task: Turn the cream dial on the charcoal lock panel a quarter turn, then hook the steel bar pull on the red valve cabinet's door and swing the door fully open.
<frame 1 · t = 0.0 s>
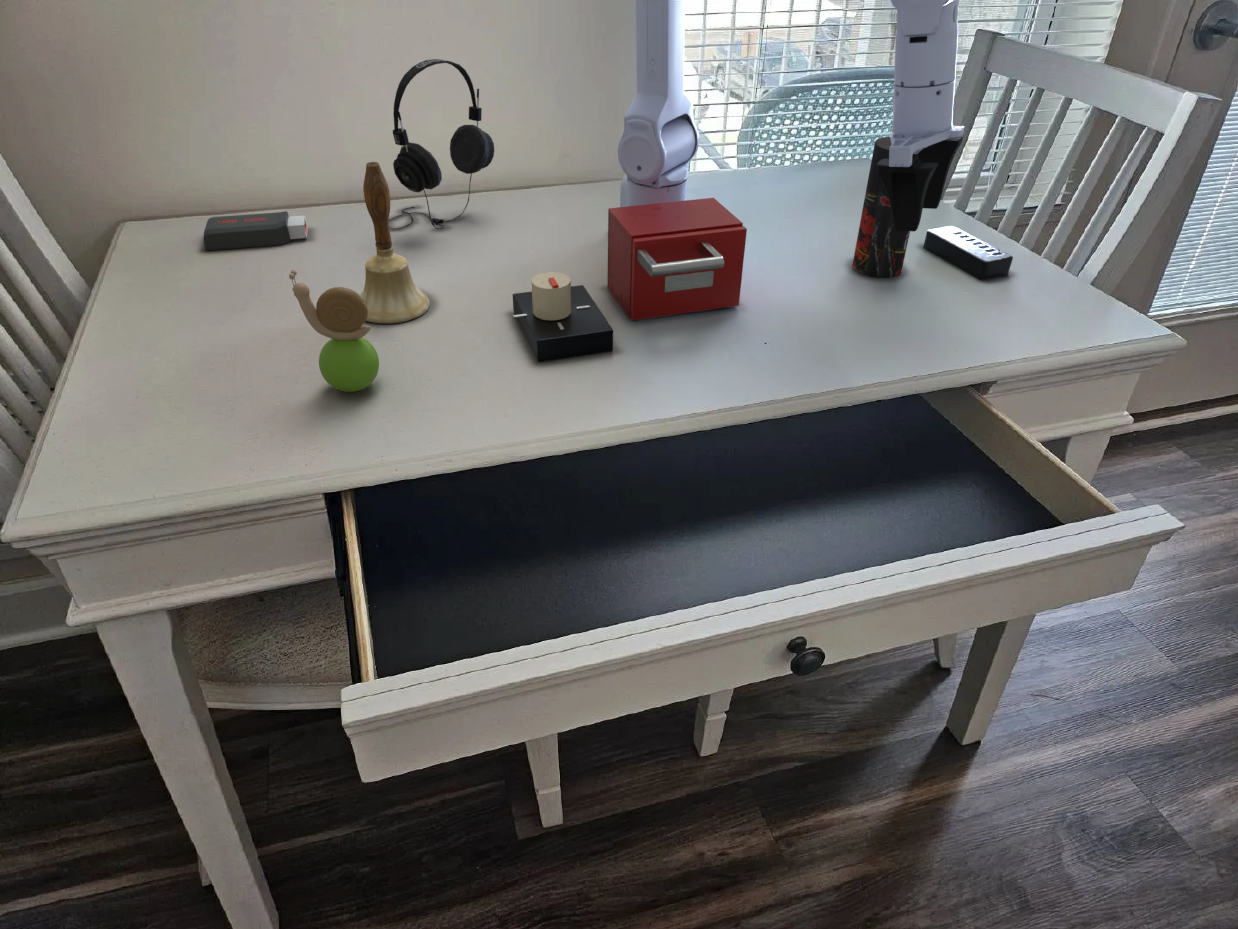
hand: (917, 218, 95), 11 cm above the table, tool pointing down, fingers open, 7 cm apart
lock dial: (551, 294, 92), point 5 cm above the table, hinge at 0.0°
hand bell: (392, 308, 99), on the table
valve cabinet: (670, 296, 102), on the table
valve door: (696, 282, 94), point 5 cm above the table, hinge at 0.0°
lock panel: (561, 332, 95), on the table
usb drive: (258, 240, 114), on the table
multiport hub: (964, 261, 112), on the table
snail figurine: (348, 389, 85), on the table
headphones: (438, 219, 120), on the table
deodorant: (876, 269, 110), on the table
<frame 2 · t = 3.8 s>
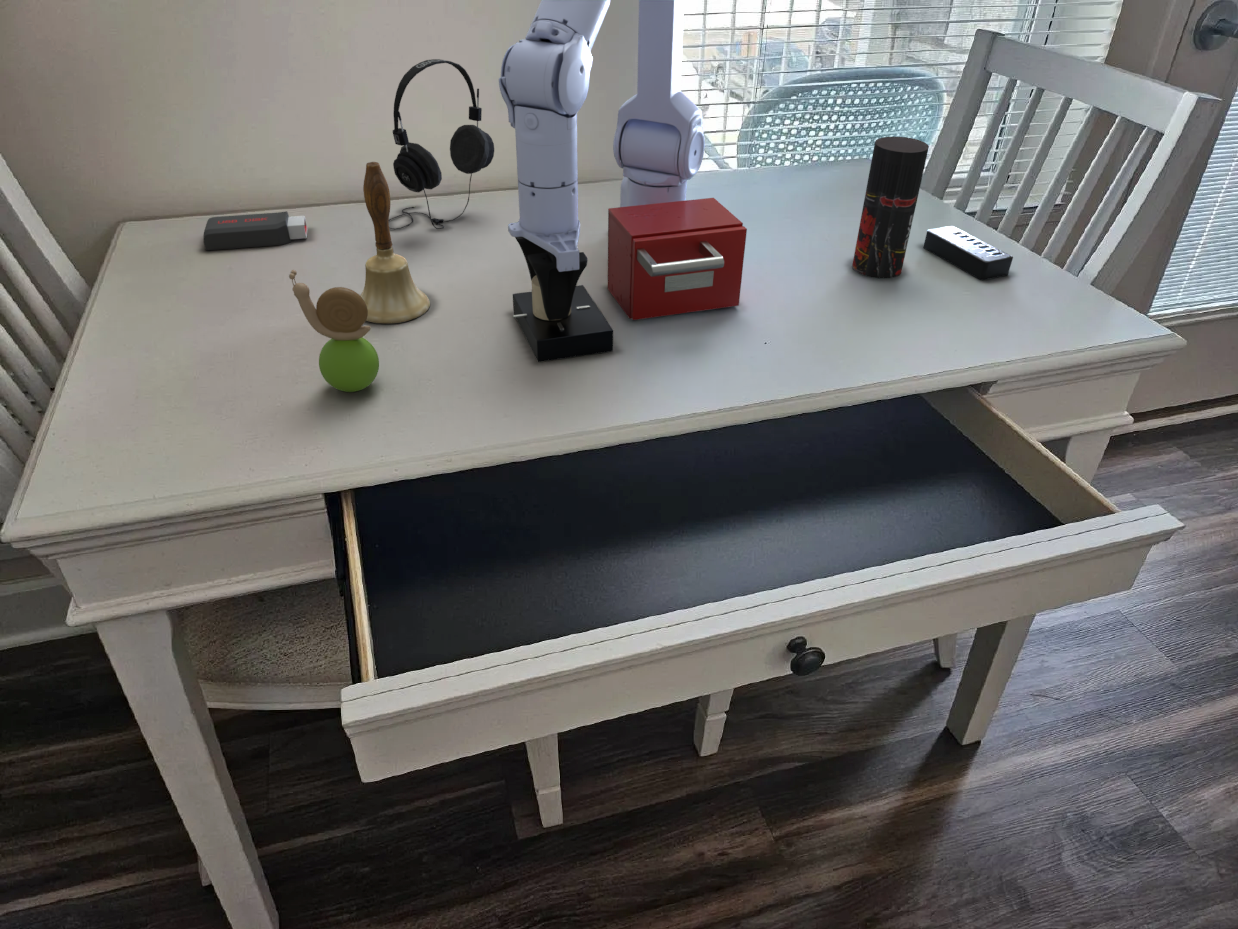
hand: (551, 307, 93), 3 cm above the table, tool pointing down, fingers closed on lock dial, 4 cm apart
lock dial: (551, 294, 92), point 4 cm above the table, hinge at -0.2°, touching gripper
everything else where it was.
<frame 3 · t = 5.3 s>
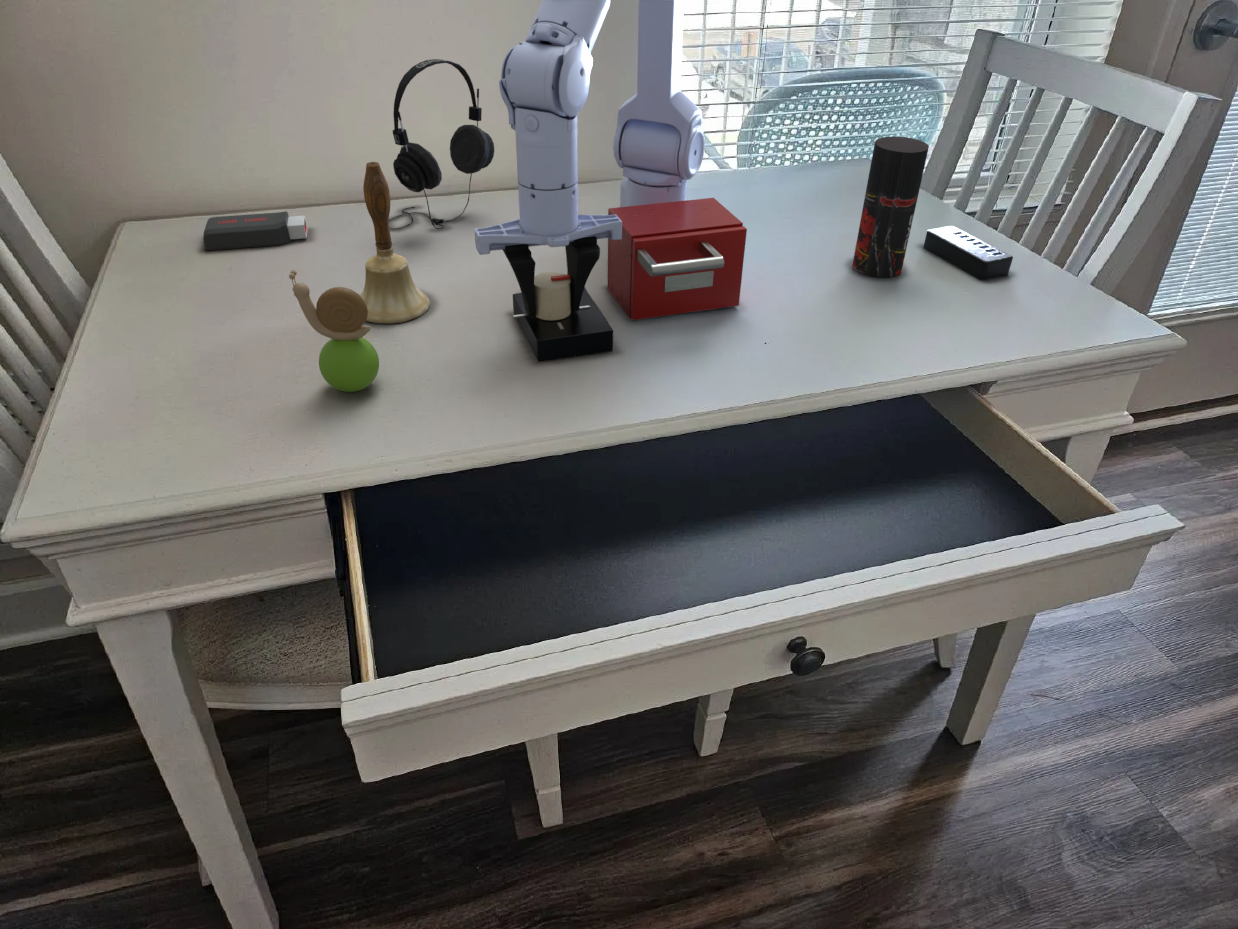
hand: (551, 309, 93), 3 cm above the table, tool pointing down, fingers closed on lock dial, 4 cm apart
lock dial: (551, 294, 92), point 4 cm above the table, hinge at 89.8°, touching gripper
everything else where it was.
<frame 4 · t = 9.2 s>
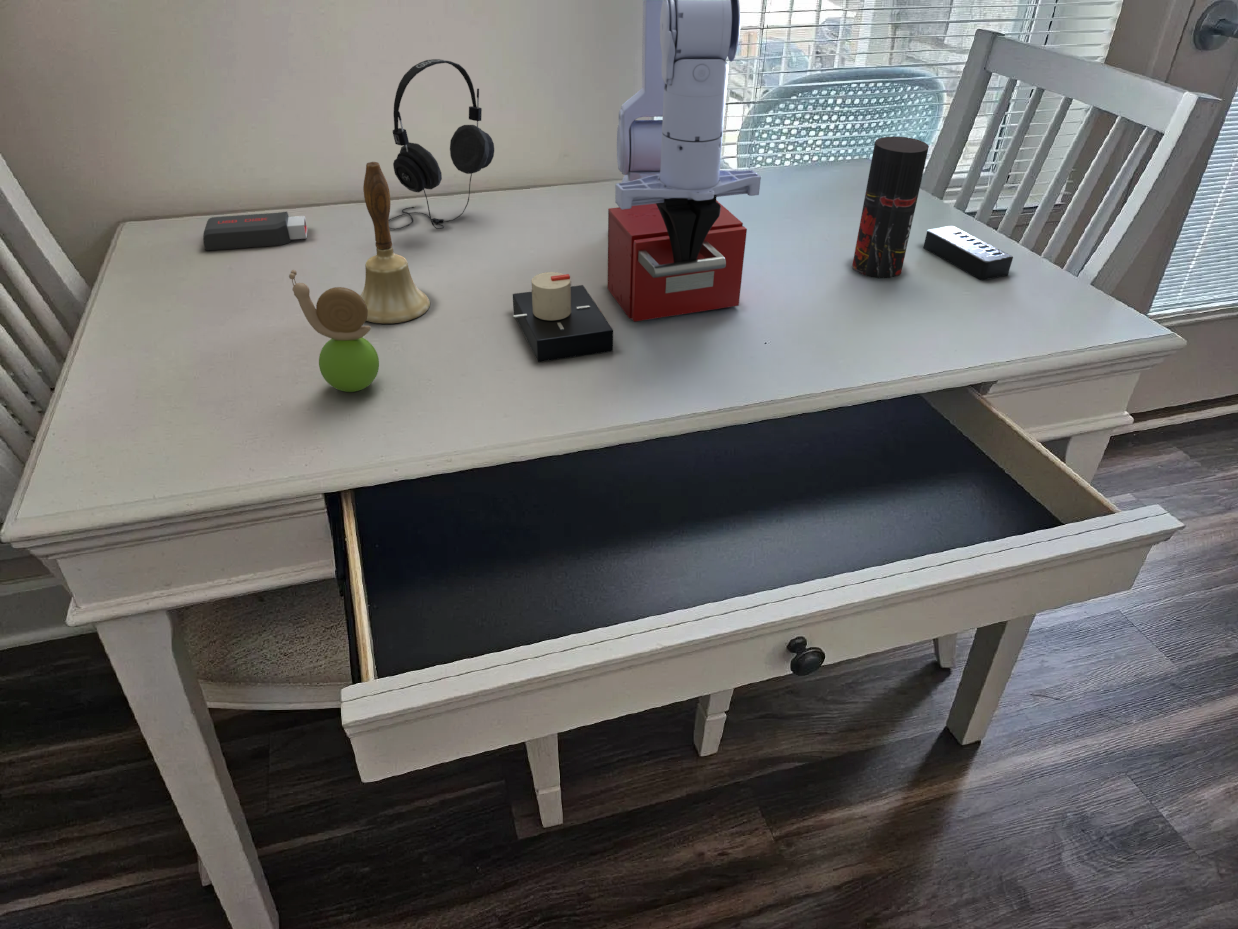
hand: (683, 268, 92), 7 cm above the table, tool pointing down, fingers closed, pressing on valve door
lock dial: (551, 294, 92), point 4 cm above the table, hinge at 90.3°
valve door: (697, 283, 94), point 5 cm above the table, hinge at 1.7°, touching gripper
everything else where it was.
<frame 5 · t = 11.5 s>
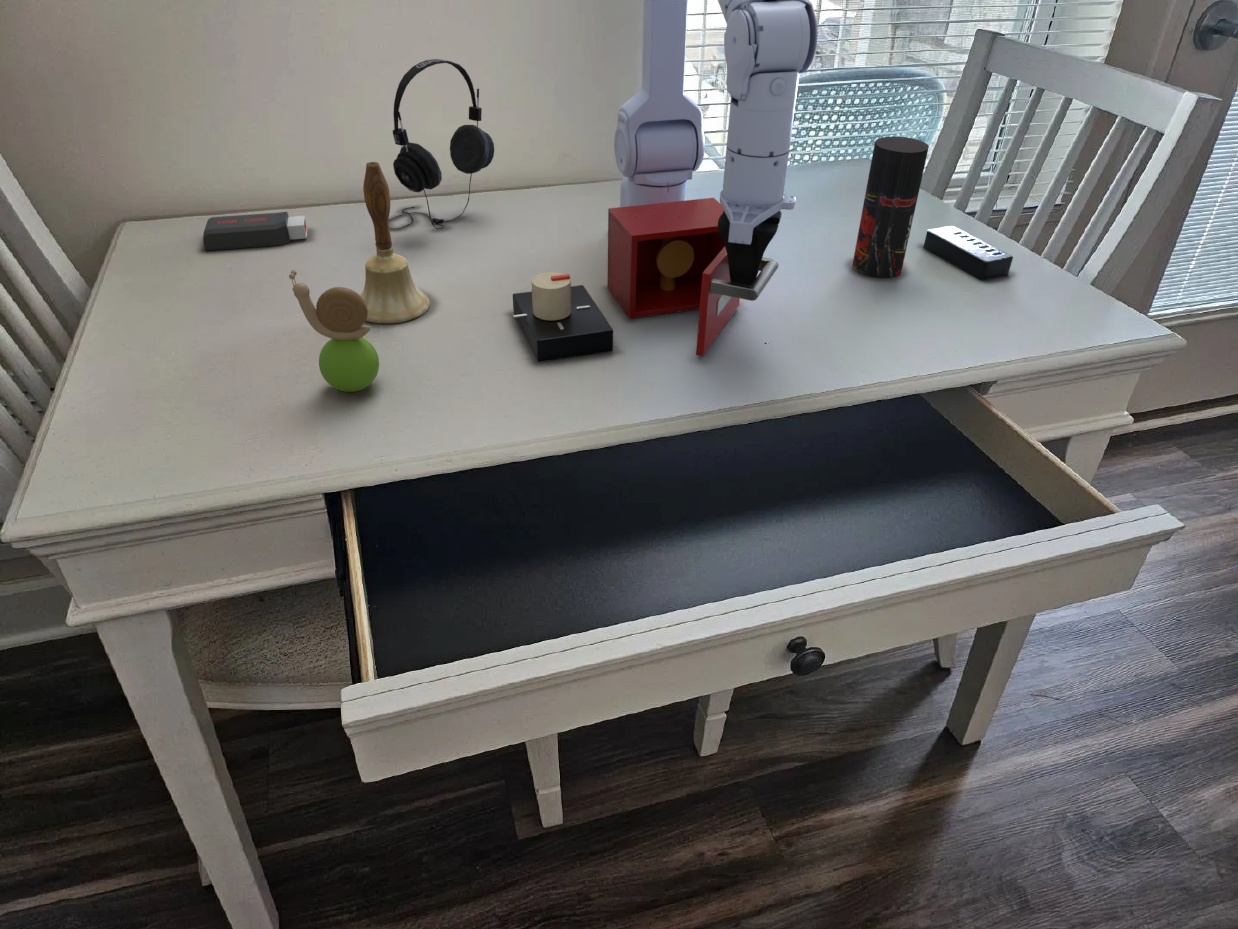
hand: (742, 285, 89), 7 cm above the table, tool pointing down, fingers closed, pressing on valve door
valve door: (744, 294, 92), point 5 cm above the table, hinge at 48.9°, touching gripper
everything else where it was.
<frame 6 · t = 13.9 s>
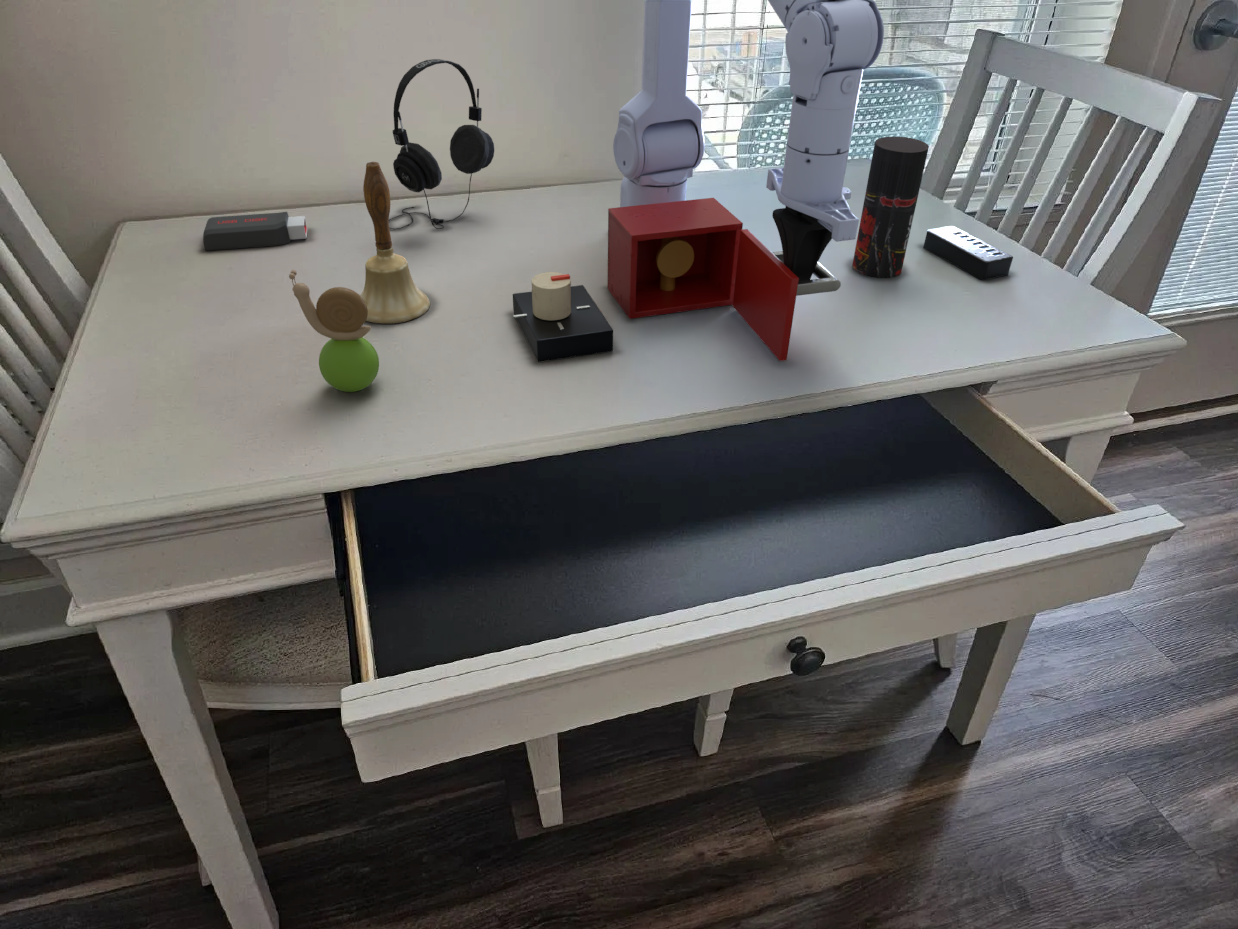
hand: (797, 281, 90), 7 cm above the table, tool pointing down, fingers closed, pressing on valve door
valve door: (784, 290, 93), point 5 cm above the table, hinge at 88.2°, touching gripper
everything else where it was.
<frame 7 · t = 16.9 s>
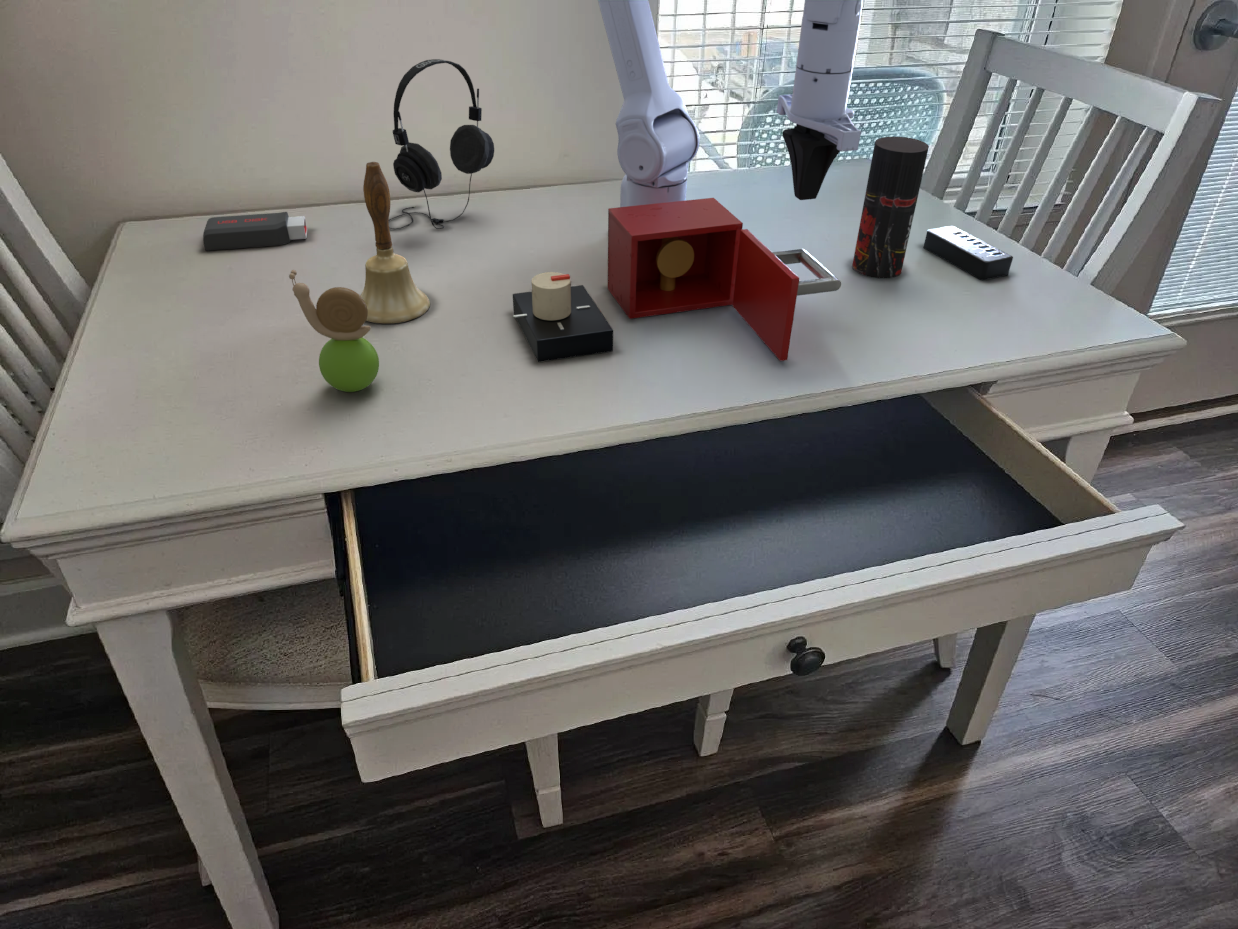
hand: (805, 197, 100), 10 cm above the table, tool pointing down, fingers closed
valve door: (784, 290, 93), point 5 cm above the table, hinge at 88.5°
everything else where it was.
at the end: lock dial at +90° (first picture: +0°); valve door at +88° (first picture: +0°) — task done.
